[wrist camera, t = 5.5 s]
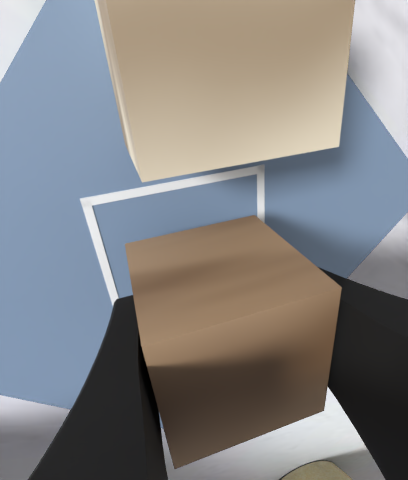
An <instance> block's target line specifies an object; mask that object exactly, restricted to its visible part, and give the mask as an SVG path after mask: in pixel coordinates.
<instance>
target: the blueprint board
mask: <svg viewBox="0 0 408 480" xmlns="http://www.w3.org/2000/svg"><path fill="white" fill-rule="evenodd" d="M407 212H408V159H407V157H406V156H405V154H404V153H403V152H402V150H401V149H400V147H399V146H398V144H397V143H396V142H395V140H394V139H393V137H392V136H391V135H390V133H389V132H388V130H387V129H386V127H385V126H384V125H383V123H382V122H381V120H380V119H379V118H378V116H377V115H376V113H375V112H374V111H373V109H372V108H371V106H370V105H369V103H368V102H367V101H366V99H365V98H364V96H363V95H362V94H361V92H360V91H359V89H358V88H357V86H356V85H355V84H354V82H353V81H352V79H351V78H350V77H349V75H348V74H347V78H346V88H345V97H344V106H343V115H342V124H341V133H340V142H339V147H335V148H329V149H324V150H318V151H313V152H307V153H302V154H296V155H291V156H285V157H280V158H274V159H269V160H263V161H258V162H252V163H247V164H241V165H236V166H230V167H225V168H219V169H214V170H208V171H203V172H197V173H192V174H186V175H181V176H175V177H170V178H164V179H159V180H153V181H148V182H142V181H141V179H140V177H139V175H138V172H137V170H136V168H135V166H134V163H133V161H132V159H131V157H130V154H129V152H128V150H127V148H126V145H125V142H124V137H123V132H122V128H121V123H120V118H119V113H118V109H117V104H116V99H115V95H114V90H113V85H112V81H111V76H110V71H109V67H108V62H107V57H106V52H105V48H104V43H103V38H102V34H101V29H100V24H99V20H98V15H97V10H96V5H95V1H94V0H46V2H45V3H44V5H43V7H42V9H41V11H40V12H39V14H38V16H37V18H36V20H35V21H34V23H33V25H32V27H31V29H30V30H29V32H28V34H27V36H26V38H25V39H24V41H23V43H22V45H21V47H20V48H19V50H18V52H17V54H16V56H15V57H14V59H13V61H12V63H11V65H10V66H9V68H8V70H7V72H6V74H5V75H4V77H3V79H2V81H1V83H0V395H3V396H8V397H13V398H18V399H22V400H27V401H32V402H37V403H42V404H47V405H52V406H57V407H62V408H66V409H71V408H72V407H73V405H74V403H75V401H76V399H77V397H78V395H79V393H80V391H81V389H82V387H83V385H84V383H85V381H86V379H87V376H88V374H89V372H90V370H91V368H92V365H93V363H94V361H95V359H96V356H97V354H98V351H99V349H100V346H101V343H102V341H103V338H104V335H105V333H106V330H107V327H108V324H109V320H110V317H111V313H112V309H113V305H114V302H115V301H116V299H119V298H123V297H126V296H130V295H133V292H132V285H131V279H130V273H129V267H128V261H127V255H126V249H125V244H126V243H130V242H135V241H139V240H144V239H148V238H153V237H157V236H162V235H166V234H171V233H175V232H180V231H184V230H189V229H193V228H198V227H202V226H207V225H211V224H216V223H220V222H225V221H229V220H234V219H238V218H243V217H247V216H252V215H255V216H257V217H258V218H259V219H260V220H261V221H263V222H264V223H265V224H266V225H267V226H269V227H270V228H271V229H272V230H273V231H275V232H276V233H277V234H278V235H279V236H281V237H282V238H283V239H284V240H285V241H287V242H288V243H289V244H290V245H291V246H293V247H294V248H295V249H296V250H297V251H299V252H300V253H301V254H302V255H303V256H305V257H306V258H307V259H308V260H309V261H311V262H312V263H313V264H314V265H315V266H317V267H319V268H322V269H324V270H327V271H329V272H331V273H334V274H336V275H339V276H341V277H344V278H346V279H347V278H348V276H349V275H350V274H351V273H352V272H353V271H354V270H355V269H356V268H357V267H358V266H359V264H360V263H361V262H362V261H363V260H364V259H365V258H366V257H367V256H368V255H369V254H370V252H371V251H372V250H373V249H374V248H375V247H376V246H377V245H378V244H379V243H380V242H381V240H382V239H383V238H384V237H385V236H386V235H387V234H388V233H389V232H390V231H391V230H392V228H393V227H394V226H395V225H396V224H397V223H398V222H399V221H400V220H401V219H402V218H403V216H404V215H405V214H406V213H407ZM159 415H160V413H159ZM160 425H161V428H163V424H162V421H161V417H160Z"/></svg>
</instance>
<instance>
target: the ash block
mask: <svg viewBox="0 0 408 480" xmlns="http://www.w3.org/2000/svg"><path fill="white" fill-rule="evenodd" d="M94 1H95V5H96V10H97V15H98V20H99V24H100V29H101V34H102V38H103V43H104V48H105V52H106V57H107V62H108V67H109V71H110V76H111V81H112V85H113V90H114V95H115V99H116V104H117V109H118V113H119V118H120V123H121V128H122V132H123V137H124V142H125V145H126V148H127V150H128V152H129V154H130V157H131V159H132V161H133V163H134V166H135V168H136V170H137V172H138V175H139V177H140V179H141V181H142V182H148V181H153V180H159V179H164V178H170V177H175V176H181V175H186V174H192V173H197V172H203V171H208V170H214V169H219V168H225V167H230V166H236V165H241V164H247V163H252V162H258V161H263V160H269V159H274V158H280V157H285V156H291V155H296V154H302V153H307V152H313V151H318V150H324V149H329V148H335V147H339V142H340V133H341V124H342V115H343V106H344V97H345V88H346V78H347V69H348V60H349V51H350V42H351V33H352V24H353V15H354V5H355V0H94Z"/></svg>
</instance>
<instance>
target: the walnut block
mask: <svg viewBox="0 0 408 480" xmlns="http://www.w3.org/2000/svg"><path fill="white" fill-rule="evenodd" d="M125 249H126V255H127V261H128V267H129V273H130V279H131V285H132V292H133V298H134V304H135V310H136V316H137V322H138V328H139V334H140V340H141V347H142V350H143V354H144V358H145V361H146V365H147V369H148V373H149V376H150V380H151V384H152V387H153V391H154V395H155V398H156V402H157V406H158V410H159V413H160V417H161V421H162V424H163V428H164V432H165V435H166V439H167V443H168V447H169V450H170V454H171V458H172V461H173V465H174V469H176V468H179V467H181V466H184V465H187V464H189V463H192V462H194V461H197V460H199V459H202V458H204V457H207V456H210V455H212V454H215V453H217V452H220V451H222V450H225V449H227V448H230V447H233V446H235V445H238V444H240V443H243V442H245V441H248V440H250V439H253V438H256V437H258V436H261V435H263V434H266V433H268V432H271V431H273V430H276V429H279V428H281V427H284V426H286V425H289V424H291V423H294V422H296V421H299V420H301V419H304V418H307V417H309V416H312V415H314V414H317V413H319V412H322V411H324V407H325V400H326V393H327V386H328V379H329V372H330V365H331V359H332V352H333V345H334V338H335V331H336V324H337V317H338V310H339V303H340V296H341V290H342V287H341V286H340V285H338V284H337V283H336V282H335V281H334V280H332V279H331V278H330V277H329V276H327V275H326V274H325V273H324V272H323V271H321V270H320V269H319V268H318V267H317V266H315V265H314V264H313V263H312V262H311V261H309V260H308V259H307V258H306V257H305V256H303V255H302V254H301V253H300V252H299V251H297V250H296V249H295V248H294V247H293V246H291V245H290V244H289V243H288V242H287V241H285V240H284V239H283V238H282V237H281V236H279V235H278V234H277V233H276V232H275V231H273V230H272V229H271V228H270V227H269V226H267V225H266V224H265V223H264V222H263V221H261V220H260V219H259V218H258V217H257V216H255V215H252V216H247V217H243V218H238V219H234V220H229V221H225V222H220V223H216V224H211V225H207V226H202V227H198V228H193V229H189V230H184V231H180V232H175V233H171V234H166V235H162V236H157V237H153V238H148V239H144V240H139V241H135V242H130V243H126V244H125Z"/></svg>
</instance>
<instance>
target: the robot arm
mask: <svg viewBox="0 0 408 480" xmlns="http://www.w3.org/2000/svg"><path fill="white" fill-rule="evenodd" d="M318 268H319V267H318ZM319 269H320V270H321V271H323V272H324V273H325V274H326V275H327V276H329V277H330V278H331V279H332V280H334V281H335V282H336V283H337V284H338V285H340V286H341V287H342V290H341V296H340V303H339V310H338V317H337V324H336V331H335V338H334V345H333V352H332V359H331V365H330V372H329V379H328V387H329V389H330V390H331V392H332V393H333V394H334V396H335V397H336V399H337V400H338V402H339V403H340V405H341V407H342V408H343V410H344V411H345V413H346V414H347V416H348V418H349V419H350V421H351V422H352V424H353V425H354V427H355V429H356V430H357V432H358V434H359V435H360V437H361V439H362V440H363V442H364V444H365V445H366V447H367V449H368V450H369V452H370V454H371V455H372V457H373V459H374V460H375V462H376V464H377V465H378V467H379V469H380V471H381V472H382V474H383V476H384V478H385V479H386V480H408V300H407V299H404V298H400V297H397V296H394V295H391V294H388V293H385V292H382V291H379V290H376V289H373V288H370V287H368V286H365V285H362V284H359V283H357V282H354V281H351V280H349V279H346V278H344V277H341V276H339V275H336V274H334V273H331V272H329V271H327V270H324V269H322V268H319ZM28 480H168V477H167V471H166V466H165V460H164V452H163V445H162V435H161V425H160V415H159V410H158V406H157V402H156V398H155V395H154V391H153V387H152V384H151V380H150V376H149V373H148V369H147V365H146V361H145V358H144V354H143V350H142V347H141V340H140V334H139V328H138V322H137V316H136V310H135V304H134V298H133V295H130V296H126V297H123V298H119V299H116V301H115V302H114V305H113V309H112V313H111V317H110V320H109V324H108V327H107V330H106V333H105V335H104V338H103V341H102V343H101V346H100V349H99V351H98V354H97V356H96V359H95V361H94V363H93V365H92V368H91V370H90V372H89V374H88V376H87V379H86V381H85V383H84V385H83V387H82V389H81V391H80V393H79V395H78V397H77V399H76V401H75V403H74V405H73V407H72V408H71V410H70V412H69V414H68V416H67V417H66V419H65V421H64V423H63V425H62V426H61V428H60V430H59V431H58V433H57V435H56V436H55V438H54V440H53V441H52V443H51V444H50V446H49V448H48V449H47V451H46V453H45V454H44V456H43V457H42V459H41V461H40V462H39V464H38V465H37V467H36V468H35V470H34V471H33V473H32V474H31V476H30V477H29V479H28Z"/></svg>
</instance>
